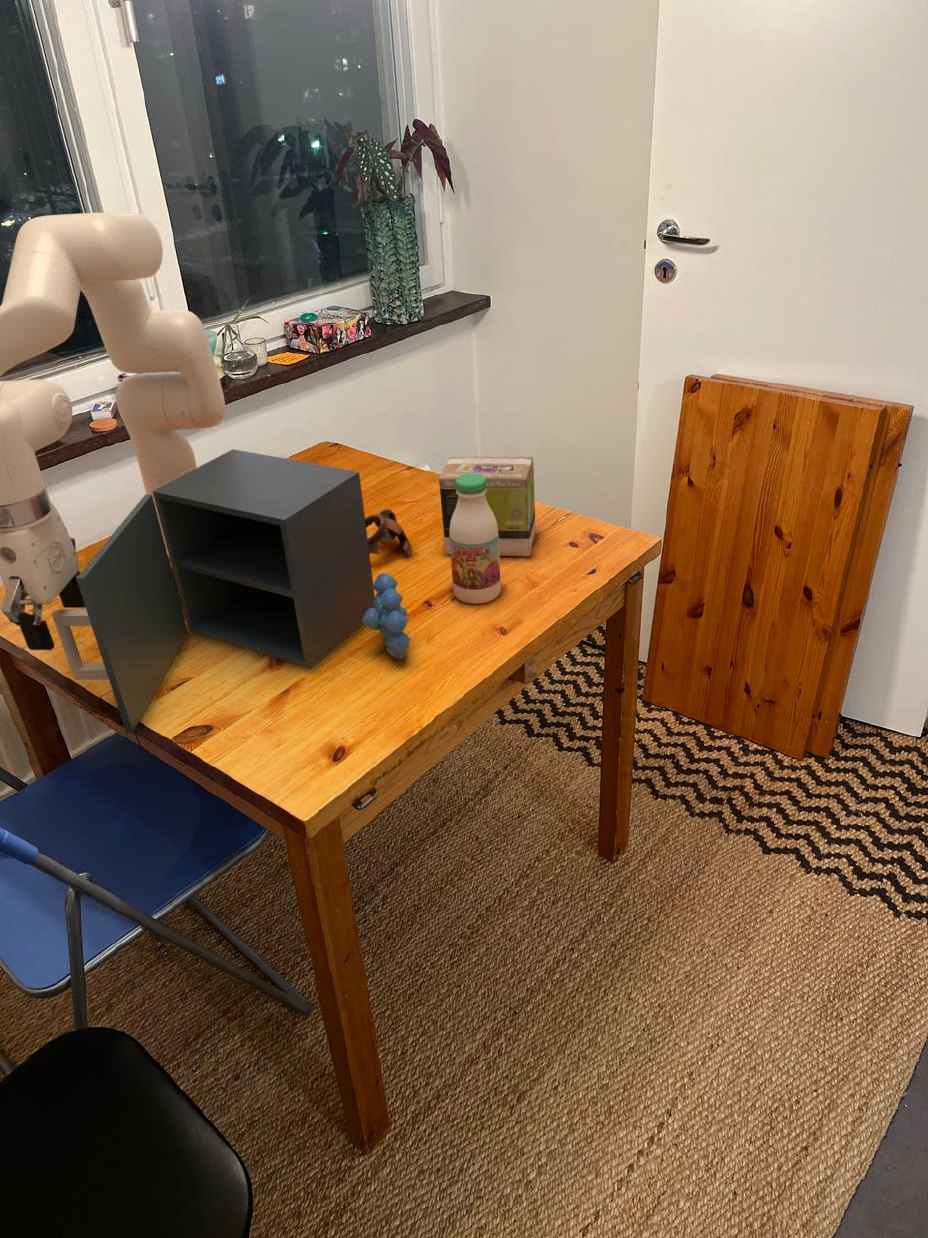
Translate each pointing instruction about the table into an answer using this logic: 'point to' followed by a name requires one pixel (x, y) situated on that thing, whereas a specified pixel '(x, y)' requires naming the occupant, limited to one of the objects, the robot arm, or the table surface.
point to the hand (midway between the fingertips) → (59, 626)
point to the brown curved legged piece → (386, 531)
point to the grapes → (388, 616)
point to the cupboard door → (128, 613)
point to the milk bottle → (474, 543)
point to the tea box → (496, 498)
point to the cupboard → (269, 554)
